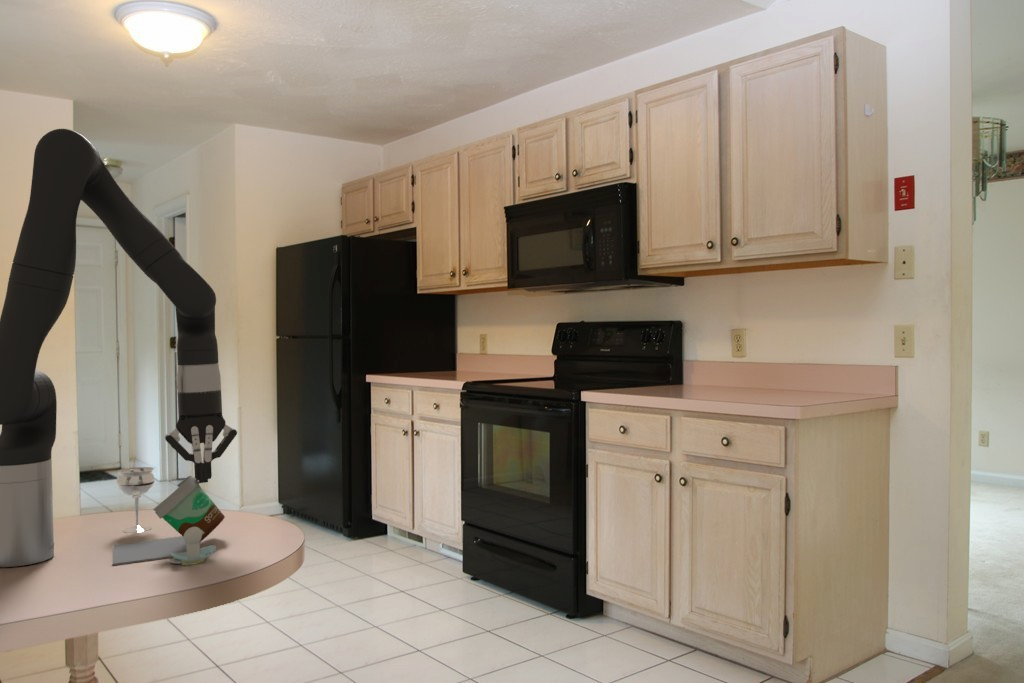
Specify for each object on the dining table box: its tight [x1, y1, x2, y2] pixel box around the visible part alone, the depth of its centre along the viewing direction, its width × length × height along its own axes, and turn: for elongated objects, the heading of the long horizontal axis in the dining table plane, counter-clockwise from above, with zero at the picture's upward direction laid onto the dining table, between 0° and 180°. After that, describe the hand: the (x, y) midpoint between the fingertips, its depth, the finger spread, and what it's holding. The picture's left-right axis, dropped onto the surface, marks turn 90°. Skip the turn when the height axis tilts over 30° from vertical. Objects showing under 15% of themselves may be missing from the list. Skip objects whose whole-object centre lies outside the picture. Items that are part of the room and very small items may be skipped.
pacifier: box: [169, 527, 217, 566], centre depth 132 cm, size 7×6×6 cm
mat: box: [112, 535, 187, 566], centre depth 140 cm, size 14×14×1 cm
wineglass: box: [116, 466, 155, 534], centre depth 156 cm, size 7×7×12 cm
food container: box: [153, 474, 226, 544], centre depth 144 cm, size 12×6×10 cm
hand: (203, 481), depth 144 cm, fingers closed
